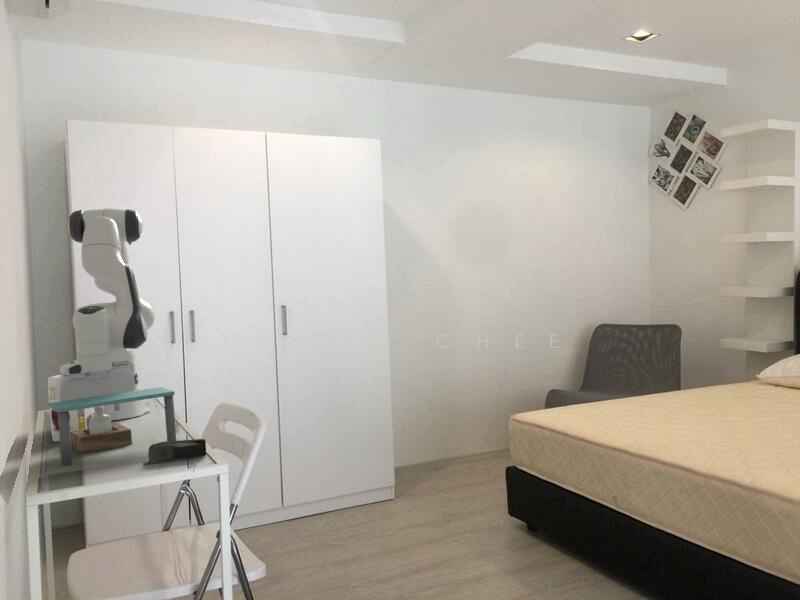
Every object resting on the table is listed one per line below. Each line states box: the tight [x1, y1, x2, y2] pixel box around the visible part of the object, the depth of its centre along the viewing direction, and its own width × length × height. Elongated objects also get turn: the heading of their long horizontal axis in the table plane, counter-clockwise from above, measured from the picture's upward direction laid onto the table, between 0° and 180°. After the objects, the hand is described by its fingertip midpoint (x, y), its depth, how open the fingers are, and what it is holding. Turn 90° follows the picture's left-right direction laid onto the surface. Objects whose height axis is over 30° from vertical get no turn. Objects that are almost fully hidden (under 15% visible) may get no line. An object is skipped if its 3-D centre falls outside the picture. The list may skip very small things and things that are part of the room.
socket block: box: [70, 422, 133, 454], centre depth 194 cm, size 13×13×4 cm
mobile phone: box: [142, 438, 207, 466], centre depth 172 cm, size 5×3×15 cm
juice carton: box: [47, 373, 88, 443], centre depth 203 cm, size 8×9×19 cm
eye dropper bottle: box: [88, 406, 112, 435], centre depth 194 cm, size 4×6×12 cm
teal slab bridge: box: [48, 386, 177, 466], centre depth 185 cm, size 12×29×14 cm, turn 127°
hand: (98, 413), depth 194 cm, fingers open, 8 cm apart
